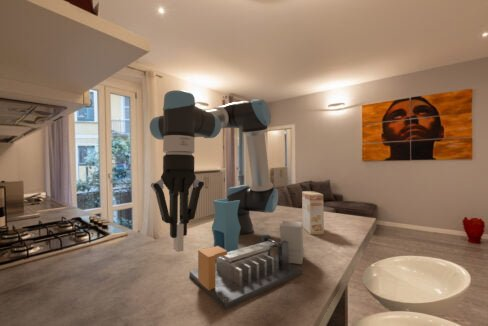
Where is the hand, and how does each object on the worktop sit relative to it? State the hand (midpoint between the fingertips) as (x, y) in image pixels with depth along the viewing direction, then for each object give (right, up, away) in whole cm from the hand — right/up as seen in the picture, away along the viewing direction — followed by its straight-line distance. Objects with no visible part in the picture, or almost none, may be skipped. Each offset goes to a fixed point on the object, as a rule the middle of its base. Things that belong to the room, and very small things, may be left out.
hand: (178, 249), depth 54 cm
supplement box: (+33, -13, +24) cm, 43 cm away
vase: (+9, -13, +31) cm, 35 cm away
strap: (+19, -7, +14) cm, 25 cm away
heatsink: (+17, -13, +13) cm, 25 cm away
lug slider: (+8, -11, +6) cm, 15 cm away
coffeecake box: (+52, -14, +59) cm, 80 cm away
